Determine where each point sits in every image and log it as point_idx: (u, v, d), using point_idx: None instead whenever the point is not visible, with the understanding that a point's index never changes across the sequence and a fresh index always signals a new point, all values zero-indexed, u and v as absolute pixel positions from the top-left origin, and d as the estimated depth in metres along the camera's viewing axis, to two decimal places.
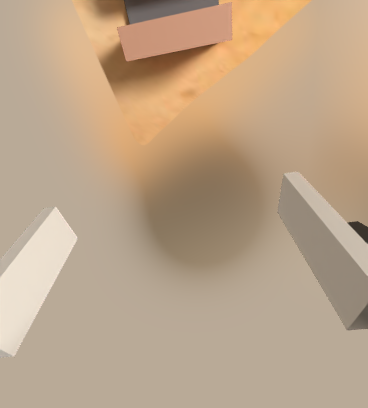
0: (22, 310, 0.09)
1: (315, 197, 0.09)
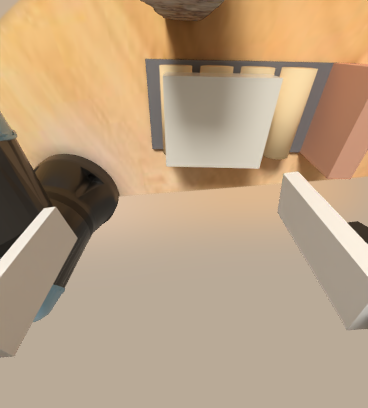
0: (22, 310, 0.09)
1: (315, 197, 0.09)
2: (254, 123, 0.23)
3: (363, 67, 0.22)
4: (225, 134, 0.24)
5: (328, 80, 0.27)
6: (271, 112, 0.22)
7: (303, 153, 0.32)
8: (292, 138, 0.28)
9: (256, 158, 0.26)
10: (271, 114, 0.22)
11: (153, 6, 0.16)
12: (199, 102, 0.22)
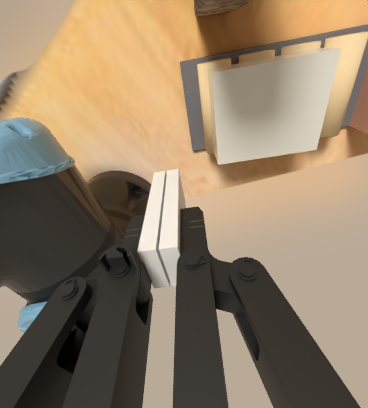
0: None
1: (173, 188, 0.11)
2: (310, 103, 0.22)
3: None
4: (278, 120, 0.23)
5: None
6: (328, 87, 0.21)
7: (354, 126, 0.30)
8: (344, 111, 0.27)
9: (312, 139, 0.24)
10: (328, 89, 0.21)
11: (206, 2, 0.15)
12: (250, 93, 0.21)
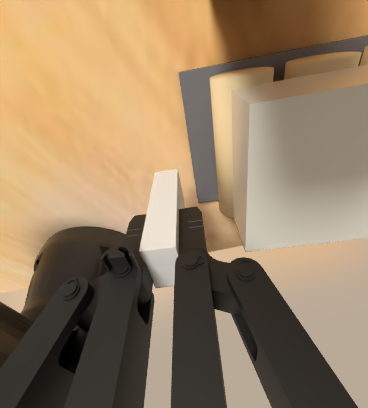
0: None
1: (172, 188, 0.11)
2: None
3: None
4: None
5: None
6: None
7: None
8: None
9: None
10: None
11: None
12: (326, 143, 0.10)
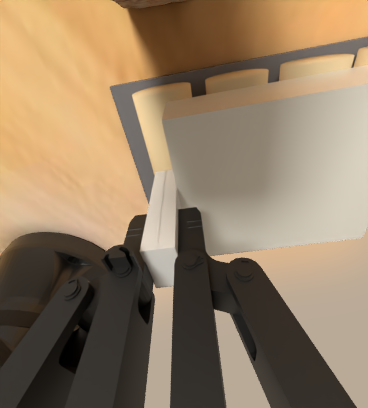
0: None
1: (171, 188, 0.11)
2: (363, 171, 0.11)
3: None
4: (299, 198, 0.12)
5: None
6: None
7: None
8: None
9: (358, 224, 0.13)
10: None
11: None
12: (244, 156, 0.10)
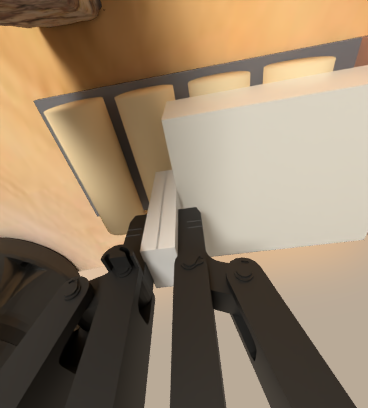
0: None
1: (171, 188, 0.11)
2: (366, 173, 0.11)
3: None
4: (300, 199, 0.12)
5: None
6: None
7: None
8: None
9: (360, 226, 0.13)
10: None
11: None
12: (245, 156, 0.10)
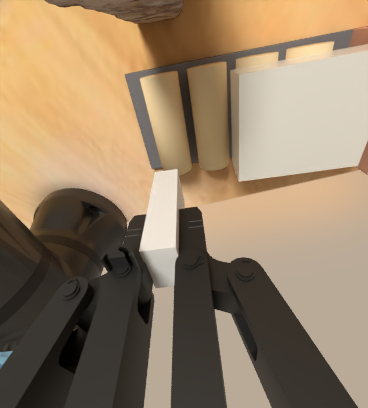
0: None
1: (172, 188, 0.11)
2: (357, 111, 0.18)
3: None
4: (316, 131, 0.19)
5: None
6: None
7: None
8: None
9: (354, 153, 0.20)
10: None
11: (107, 12, 0.12)
12: (284, 99, 0.17)
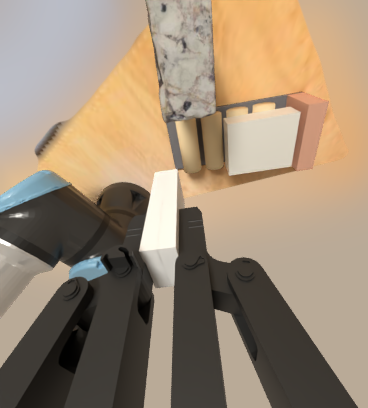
0: None
1: (172, 188, 0.11)
2: (285, 140, 0.36)
3: (301, 102, 0.35)
4: (266, 149, 0.37)
5: (286, 106, 0.40)
6: (295, 131, 0.36)
7: None
8: None
9: (288, 160, 0.39)
10: (295, 132, 0.36)
11: None
12: (249, 134, 0.36)
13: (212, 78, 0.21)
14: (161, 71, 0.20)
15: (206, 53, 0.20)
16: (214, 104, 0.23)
